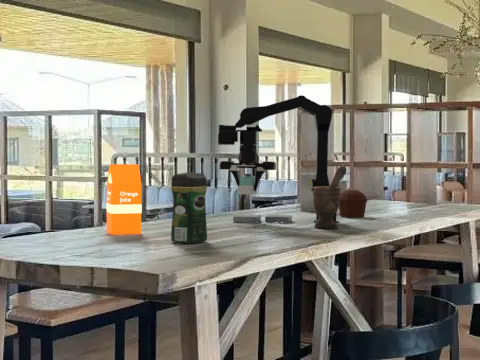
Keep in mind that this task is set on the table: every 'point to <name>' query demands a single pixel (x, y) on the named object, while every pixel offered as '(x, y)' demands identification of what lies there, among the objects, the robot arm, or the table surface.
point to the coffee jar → (189, 208)
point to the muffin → (352, 204)
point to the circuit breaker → (306, 192)
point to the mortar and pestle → (328, 201)
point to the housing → (247, 185)
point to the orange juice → (124, 199)
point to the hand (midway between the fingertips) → (247, 191)
